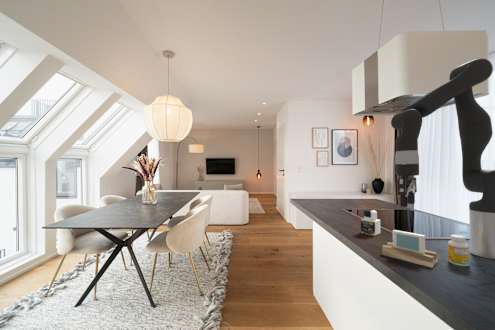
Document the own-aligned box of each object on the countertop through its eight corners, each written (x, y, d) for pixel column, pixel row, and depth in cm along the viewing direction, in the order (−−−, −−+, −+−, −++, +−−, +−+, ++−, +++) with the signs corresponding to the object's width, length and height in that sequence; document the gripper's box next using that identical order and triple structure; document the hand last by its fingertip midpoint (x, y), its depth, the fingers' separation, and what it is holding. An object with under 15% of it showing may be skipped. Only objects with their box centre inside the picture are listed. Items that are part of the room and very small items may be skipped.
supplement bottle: (448, 259, 86) (447, 233, 87) (468, 262, 83) (467, 235, 83) (448, 263, 82) (448, 236, 82) (469, 267, 79) (469, 239, 79)
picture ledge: (389, 249, 97) (389, 241, 97) (437, 261, 84) (437, 252, 85) (381, 254, 92) (381, 246, 92) (432, 267, 79) (432, 258, 79)
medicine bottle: (360, 233, 121) (360, 210, 121) (366, 230, 125) (366, 208, 126) (375, 236, 115) (374, 212, 115) (380, 233, 120) (380, 210, 120)
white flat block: (394, 249, 93) (394, 229, 93) (425, 256, 85) (424, 235, 85) (392, 251, 91) (392, 230, 91) (423, 258, 84) (423, 236, 84)
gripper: (401, 163, 96) (402, 202, 96) (389, 163, 87) (389, 206, 87) (423, 162, 90) (424, 204, 90) (412, 162, 81) (413, 209, 81)
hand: (407, 205), depth 88 cm, fingers open, 8 cm apart
